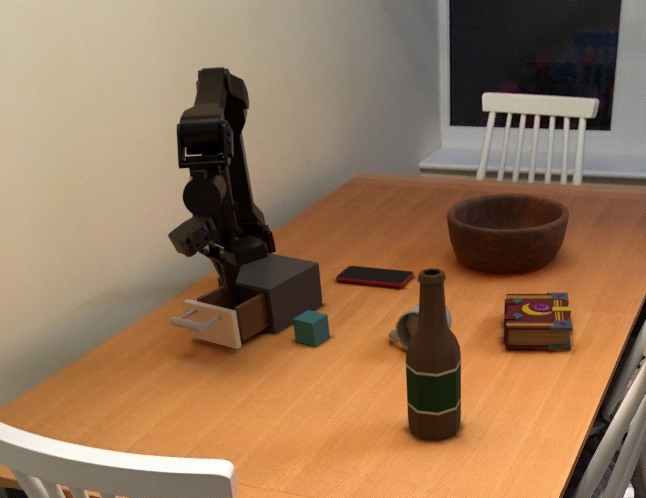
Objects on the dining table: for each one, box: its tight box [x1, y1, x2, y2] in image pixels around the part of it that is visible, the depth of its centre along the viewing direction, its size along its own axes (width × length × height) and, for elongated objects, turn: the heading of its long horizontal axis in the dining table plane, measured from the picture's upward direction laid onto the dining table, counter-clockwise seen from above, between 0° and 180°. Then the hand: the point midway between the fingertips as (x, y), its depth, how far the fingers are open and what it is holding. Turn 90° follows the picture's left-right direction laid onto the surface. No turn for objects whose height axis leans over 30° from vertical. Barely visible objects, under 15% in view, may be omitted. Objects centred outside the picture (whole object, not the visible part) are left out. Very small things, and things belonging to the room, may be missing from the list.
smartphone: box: [335, 265, 415, 288], centre depth 172 cm, size 7×1×15 cm
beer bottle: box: [405, 267, 462, 442], centre depth 116 cm, size 8×8×24 cm
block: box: [292, 310, 330, 347], centre depth 149 cm, size 4×4×4 cm
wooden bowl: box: [446, 193, 570, 276], centre depth 175 cm, size 25×25×10 cm
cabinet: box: [216, 253, 324, 334], centre depth 158 cm, size 15×13×9 cm
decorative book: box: [503, 291, 574, 351], centre depth 147 cm, size 11×16×5 cm
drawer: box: [169, 285, 271, 350], centre depth 150 cm, size 19×11×7 cm, turn 146°
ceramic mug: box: [388, 303, 453, 351], centre depth 144 cm, size 11×8×8 cm
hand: (229, 290), depth 143 cm, fingers closed
